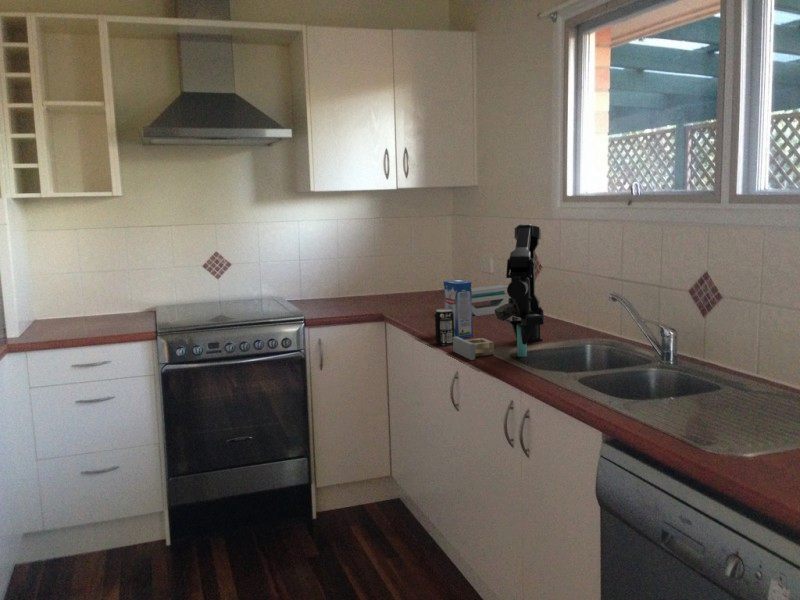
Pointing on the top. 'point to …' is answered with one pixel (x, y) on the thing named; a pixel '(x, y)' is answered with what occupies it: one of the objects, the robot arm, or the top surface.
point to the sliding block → (482, 346)
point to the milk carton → (459, 306)
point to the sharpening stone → (486, 294)
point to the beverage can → (444, 326)
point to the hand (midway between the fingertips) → (521, 343)
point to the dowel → (520, 345)
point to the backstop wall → (464, 348)
